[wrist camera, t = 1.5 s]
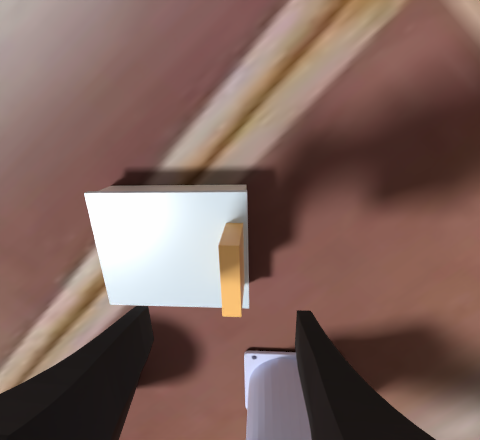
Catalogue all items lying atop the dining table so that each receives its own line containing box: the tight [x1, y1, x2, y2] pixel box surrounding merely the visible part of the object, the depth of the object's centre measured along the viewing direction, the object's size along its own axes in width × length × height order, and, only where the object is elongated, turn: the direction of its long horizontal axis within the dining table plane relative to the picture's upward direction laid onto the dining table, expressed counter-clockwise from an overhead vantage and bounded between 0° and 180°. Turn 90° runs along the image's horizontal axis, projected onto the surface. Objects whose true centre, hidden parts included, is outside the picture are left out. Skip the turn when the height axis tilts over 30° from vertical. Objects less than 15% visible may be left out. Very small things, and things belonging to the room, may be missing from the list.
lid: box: [84, 190, 249, 317], centre depth 19 cm, size 11×9×5 cm
